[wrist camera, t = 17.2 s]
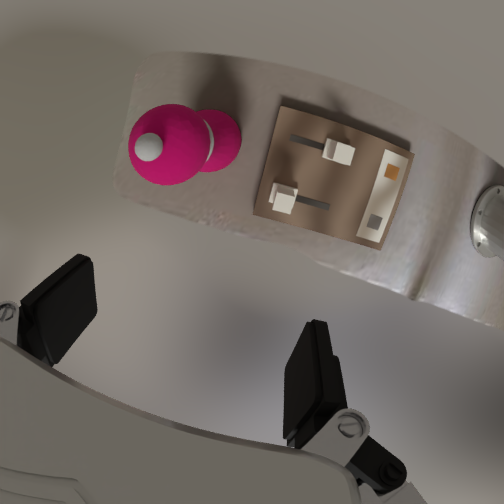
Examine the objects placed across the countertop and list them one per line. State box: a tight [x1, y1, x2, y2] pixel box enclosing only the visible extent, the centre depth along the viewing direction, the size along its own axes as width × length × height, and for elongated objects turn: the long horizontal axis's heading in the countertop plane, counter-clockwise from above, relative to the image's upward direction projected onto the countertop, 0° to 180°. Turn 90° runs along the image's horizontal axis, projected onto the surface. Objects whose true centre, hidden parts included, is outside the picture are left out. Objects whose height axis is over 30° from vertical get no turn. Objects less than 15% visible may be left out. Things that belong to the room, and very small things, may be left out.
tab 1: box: [269, 182, 298, 214], centre depth 31 cm, size 3×2×4 cm
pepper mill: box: [128, 104, 241, 185], centre depth 23 cm, size 7×7×20 cm
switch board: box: [253, 106, 415, 250], centre depth 32 cm, size 18×14×2 cm
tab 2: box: [321, 138, 355, 166], centre depth 28 cm, size 3×2×4 cm
